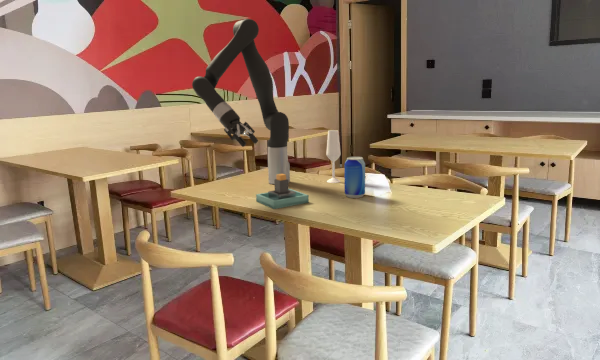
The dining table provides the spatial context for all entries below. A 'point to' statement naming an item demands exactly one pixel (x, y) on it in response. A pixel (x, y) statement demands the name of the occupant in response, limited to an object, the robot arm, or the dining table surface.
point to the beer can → (354, 177)
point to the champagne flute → (333, 151)
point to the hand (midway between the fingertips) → (250, 143)
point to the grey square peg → (281, 184)
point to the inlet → (281, 195)
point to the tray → (282, 200)
